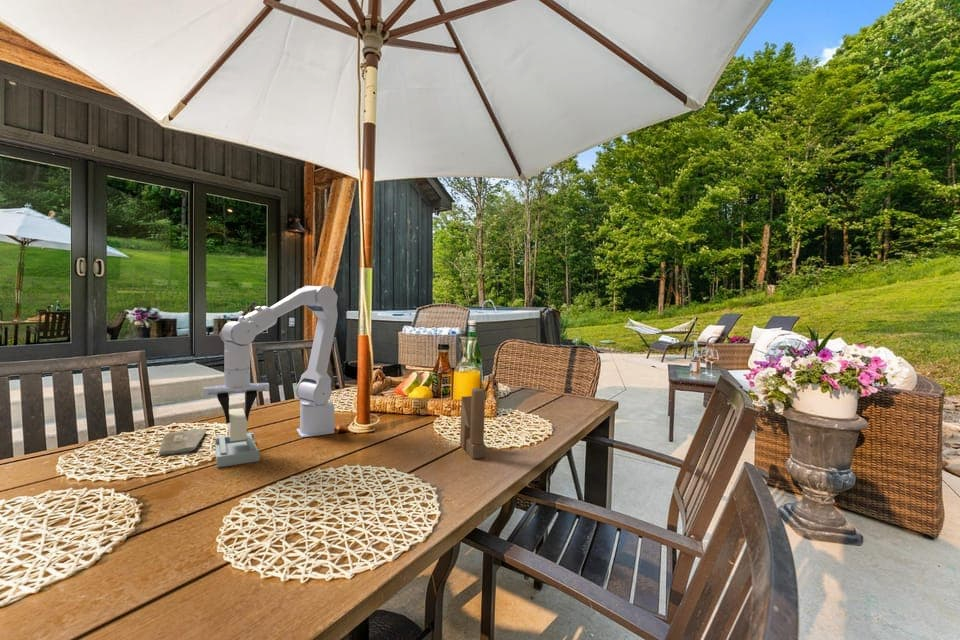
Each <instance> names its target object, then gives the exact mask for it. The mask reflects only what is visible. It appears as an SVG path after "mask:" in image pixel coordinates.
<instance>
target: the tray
mask: <svg viewBox="0 0 960 640" xmlns="http://www.w3.org/2000/svg"><path fill="white" fill-rule="evenodd" d="M254 437H255V436H254V432H247V439H245V440H238V441H230V437H229V435H219V436H217V437H215V442H214V445H215V458H216V468H224V467H228V466H230V467H231V466H235V465H241V464H248V463H254V462H259V461H260V459H261V458H260V457H261V454H260V453H261V450H260V449H258V447H257V445H256V442H255V439H254Z"/></svg>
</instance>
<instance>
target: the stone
mask: <svg viewBox="0 0 960 640" xmlns="http://www.w3.org/2000/svg"><path fill="white" fill-rule="evenodd" d="M206 433H207V429H205V428H199V429H197V428H196V429H188V430H181V431H173V432H169V433H165V434H164V435H163V437H162V441H161V444H160V448H159V450H158V454H159V455H162V456H169V455H177V454H178V455H181V454H188V453H190V452H193V451H195V450H196V448H197V447H198V446H199V444H200V443H201V441H202V440H203V438H204V436H205V434H206Z"/></svg>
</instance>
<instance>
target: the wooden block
mask: <svg viewBox="0 0 960 640" xmlns="http://www.w3.org/2000/svg"><path fill="white" fill-rule="evenodd" d="M485 404H486V389H485V388H479V387H477V388H476V387H475V388H472V389H471V395H470V396H469V395H468V396H461V407H460V408H461V409H460V413H461V414H460V434H459V436H460V437H459V441H460V442H459V446H460V447H461V449H463V450H464V451H465V450H466V451H465V453H466V454H467V455H469V456H470V458H472V460H475V459H477V460H478V459H485V457H486V446H487V445H486V444H485V443H484V438H485V411H486V410H485V409H486V408H485V407H486V405H485Z"/></svg>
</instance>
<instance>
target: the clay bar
mask: <svg viewBox="0 0 960 640" xmlns="http://www.w3.org/2000/svg"><path fill="white" fill-rule="evenodd" d="M227 431H228V436H229V437H230V441H238V440H245V439H247V433H248V432H247V431H248V421H247V418H246V415H245V408H243V407H242V408H241V407H240V408H231V409H230V408H229V423H227Z"/></svg>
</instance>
